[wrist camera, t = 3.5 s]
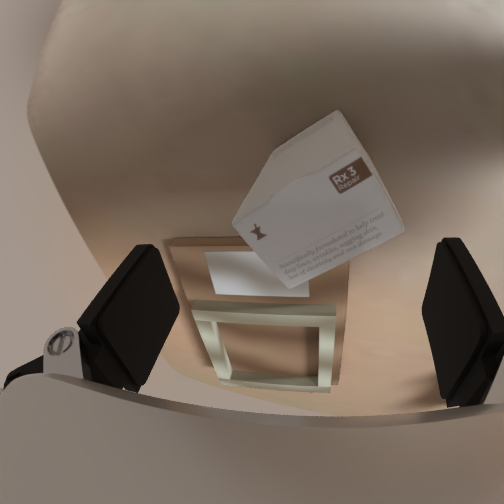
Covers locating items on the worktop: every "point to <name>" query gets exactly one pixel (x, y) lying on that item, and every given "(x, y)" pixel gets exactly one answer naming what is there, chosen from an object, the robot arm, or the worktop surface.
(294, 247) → the skincare box
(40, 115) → the worktop surface
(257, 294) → the framed base plate
